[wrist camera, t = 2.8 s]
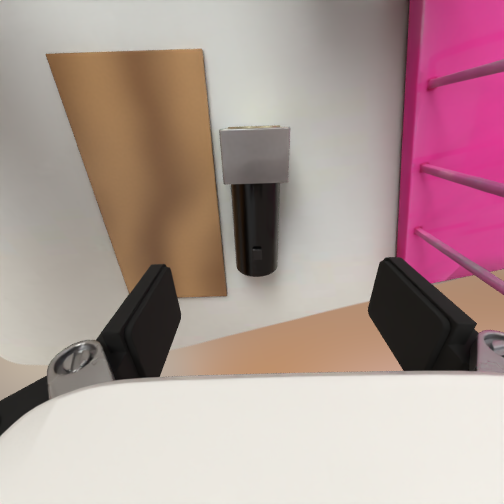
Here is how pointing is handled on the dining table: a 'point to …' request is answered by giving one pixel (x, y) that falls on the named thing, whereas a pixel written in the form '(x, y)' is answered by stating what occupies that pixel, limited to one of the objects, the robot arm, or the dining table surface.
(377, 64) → the dining table surface
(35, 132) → the dining table surface
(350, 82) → the dining table surface
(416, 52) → the file sorter
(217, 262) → the wooden board
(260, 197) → the flashlight
